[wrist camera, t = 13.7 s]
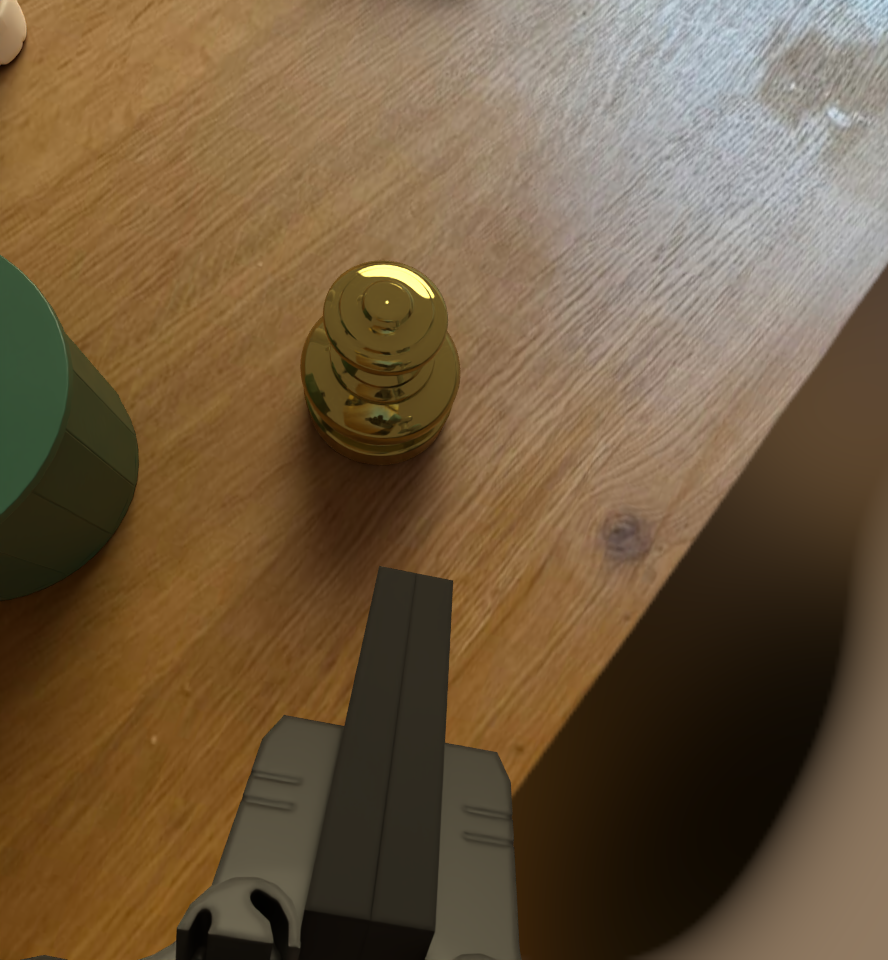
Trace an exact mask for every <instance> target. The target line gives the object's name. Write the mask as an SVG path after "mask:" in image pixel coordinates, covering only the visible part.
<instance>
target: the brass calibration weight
mask: <svg viewBox="0 0 888 960" xmlns="http://www.w3.org/2000/svg"><path fill="white" fill-rule="evenodd" d="M447 328H448V314H447V308H446V304H445V301H444V299H443V297H442V294H441V293H440V291H439V289H438V288H437V287H436V285H435V284H434V283H433V282H432V281H431V280H430V279H429V278H428V277H427V276H426V275H424V274H423V273H421V272H420V271H418V270H417V269H415V268H413V267H411V266H408V265H406V264H403V263H399V262H394V261H386V260H379V261H370V262H366V263H362V264H359V265H357V266H354V267H352V268H350V269H349V270H347V271H346V272H344V273H343V274H342V275H341V276H340V277H339V278H337V280H336V281H335V282H334V283H333V285H332V286H331V288H330V289H329V291H328V294H327V296H326V299H325V303H324V308H323V316H322V317H321V318H320V319H319V320H318V321H317V322H316V324H315V325H314V326H313V328H312V329H311V331H310V333H309V334H308V336H307V339H306V341H305V344H304V346H303V350H302V354H301V365H300V369H301V378H302V383H303V387H304V395H305V400H306V403H307V406H308V409H309V413H310V417H311V419H312V422H313V424H314V426H315V428H316V430H317V431H318V433H319V434H320V436H321V437H322V438H323V439H324V441H325V442H326V443H327V444H328V445H329V446H330V447H332V448H333V449H334V450H335V451H337V452H338V453H340V454H342V455H343V456H345V457H347V458H349V459H352V460H354V461H357V462H361V463H365V464H371V465H390V464H396V463H400V462H403V461H406V460H409V459H411V458H413V457H415V456H417V455H418V454H420V453H421V452H423V451H424V450H425V449H427V448H428V447H429V446H430V445H431V444H432V443H433V442H434V440H435V439H436V438H437V436H438V435H439V433H440V432H441V430H442V428H443V426H444V423H445V422H446V420H447V418H448V416H449V414H450V411H451V408H452V405H453V402H454V400H455V398H456V395H457V392H458V388H459V384H460V361H459V356H458V352H457V349H456V347H455V344H454V342H453V340H452V338H451V336H450V334H449V333H448V331H447Z"/></svg>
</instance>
